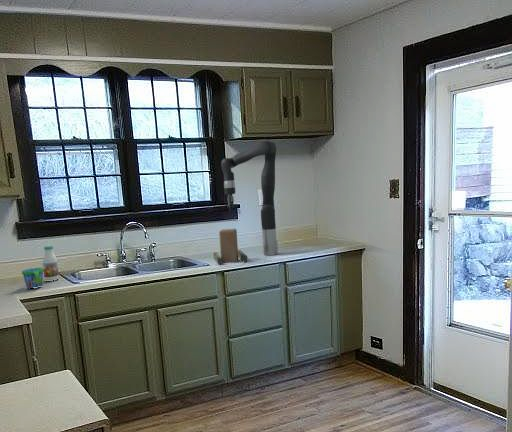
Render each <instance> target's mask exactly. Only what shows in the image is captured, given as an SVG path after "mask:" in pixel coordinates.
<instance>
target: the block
mask: <svg viewBox="0 0 512 432" xmlns="http://www.w3.org/2000/svg"><path fill="white" fill-rule="evenodd" d="M218 233H219V234H218V235H219V246H220V247H219V248H220V249H219V250H220V257H221V259H222V263H236V262H238V259H239V257H238V250H239V249H238V247H239V246H238V233H237V229H236V228H228V229H225V228H224V229H221V230H219V232H218Z"/></svg>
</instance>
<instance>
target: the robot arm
mask: <svg viewBox="0 0 512 432" xmlns="http://www.w3.org/2000/svg"><path fill="white" fill-rule="evenodd" d="M276 154H277V146H276V143H275V142H274V141H271V140H264V141H262V142H260V143H259V144H257V145H255V146H254V147H252V148H250V149H249V148H248V149H247V150H245V151H243V152H239V153H236V154H235V155H233V157H224V158H223V159H222V160H221V161H220V162H221V163H220V164H221V165H220V166H221V170H222V173H223V174H222V175H223V188H224V195H227V198H226V200H227V204H228V208H229V209H228V210H229V213H234V208H233V207H234V196H233V195H235V194H236V182H235V174H234V172H233V171H232V168H235V167H237V166H240V165H242V164H245V163H247V162H249V161H251V160H252V159H254V158H256V157H258V156H259V157H260V156H264V164H263V165H264V166H263V168H262V172H261V176H260V179H261V181H260V183H261V184H260V185H261V186H260V187H261V192H262V207H261V209H260V219H261V220H260V221H261V222H260V223H261V231H262V232H261V233H262V247H263V248H262V250H263V251H262V253H263V256H275V255H278V254H279V247H278V239H277V225H276V223H277V222H276V209H275V200H274V198H275V190H276V157H277V155H276Z"/></svg>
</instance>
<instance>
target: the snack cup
mask: <svg viewBox="0 0 512 432" xmlns="http://www.w3.org/2000/svg"><path fill="white" fill-rule="evenodd" d="M21 274H22V276H23V278H24V279H23V280H24V282H25V287H26V289H27V288H33V287H38V286H41V285H42V286H43V282H44V281H43V279H44V269H43V267H35V268H34V267H33V268H28V269H24V270H21Z"/></svg>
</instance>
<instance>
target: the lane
mask: <svg viewBox="0 0 512 432" xmlns="http://www.w3.org/2000/svg"><path fill="white" fill-rule="evenodd" d="M213 259H214V261H215V262H216V263H217V265H218V266H223V262H222V259H221V255H219V254H218V252H215V251H214V252H213ZM238 259H240V260H241V261H242V262H243V263H244V264H246V263H248V256H247V255H246V254H245V252H243V251H242V250H241V249H238Z"/></svg>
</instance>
